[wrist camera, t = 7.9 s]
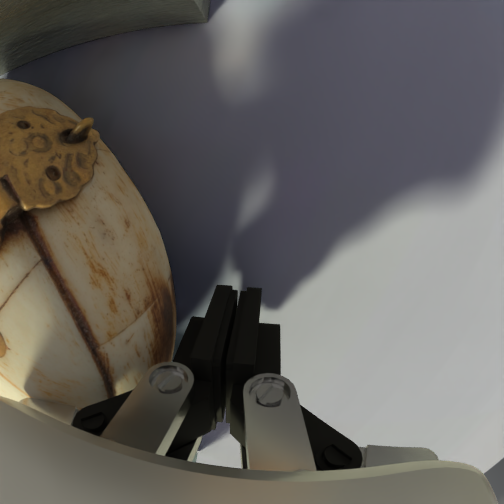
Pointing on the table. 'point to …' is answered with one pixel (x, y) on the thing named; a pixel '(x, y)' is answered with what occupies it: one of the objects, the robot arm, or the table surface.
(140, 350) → the trinket box
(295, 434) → the robot arm
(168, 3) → the vise
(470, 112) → the table surface
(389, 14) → the table surface
